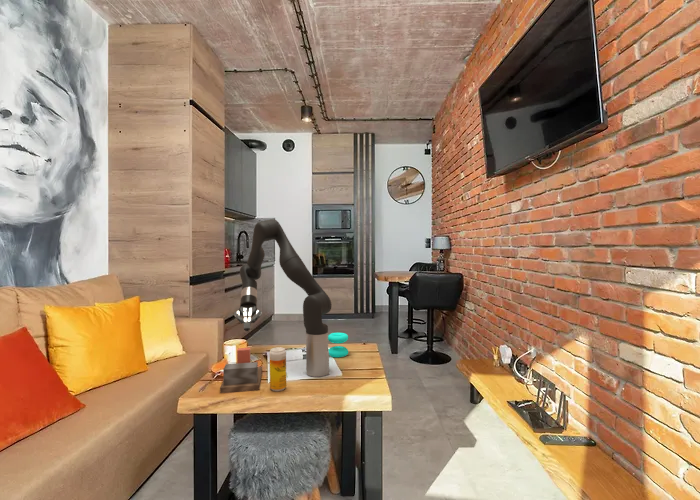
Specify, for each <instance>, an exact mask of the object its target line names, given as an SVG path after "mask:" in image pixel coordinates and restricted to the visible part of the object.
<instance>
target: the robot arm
mask: <svg viewBox="0 0 700 500" xmlns="http://www.w3.org/2000/svg"><path fill="white" fill-rule="evenodd" d="M253 228H254V229H253V234H252V242H251V249H250V252H249V255H248V258H247V261H246V264H242V265H241V267H240V268H239V276H240V279H241V284H242V285H241V293H240V305H239V308H238V310H237V311H234V312H233V315H234V318H235V319H237V321H238V322H239V323H240V324H243V331H245V332H249V331H250V330H251V324H255V323H256V321H258V319H259V318H261V316H262V315H263V313H262V311H261V310H259V309H258V291H257V290H258V282H257V281H258V280H260V278H261V275H262V264H263V261H264V260H265V250H264V248H263V246H262V245H263V244H264V242H268V241H271V240H272V241H273V240H274V241H275V242H276V243H277V245H278V247H279V259H278V260H279V261H278V262H279V265H280V268H281V270H282V271H283V273H284V274H285V275H286V277H287V278H288V279H289V280H290V281H291V282H293V283H294V284H296V286H298V287H299V288H301V289H302V290H303V291H304V292H305V293H306V295H307V296H306V297H305V298H304V300H303V302H302V303H303V304H302V313H303V326H304V328H305V354H306V355H305V358H306V359H305V360H306V361H305V362H306V368H305V370H306V372H305V373H306V375H307V376H309V377H315V378H316V377H318V378H320V377H324V376H326V375H330V355H329V351H328V350H329V340H328V335H329V327H328V325H327V323H324V322H323V320H322V318H323V317H322V316H324V315H327V314H328V313H330V312H331V310H332V301H331V298H330V297H329V295H328V294H327V293H326V291H325V290H324V289H323V288H322V287H321V286H320V284H319V283H318V282H317V280H316V279H315V278H314V276H313V275H312V273H311V272H310V270H309V269H308V267H307V266H306V264H305V263H304V261H303V259H301V257H300V255H299V254H298V253H297V251H296V250H295V248H294V247H293V245H292V243H291V242H290V240H289V238H288V237H287V234H286V232H285V231H284V229H283V227H282V225H281V224H280V222H279V221H278V220H276V219H275V218H272V219H267V220H261V221H257V223H255V225H254V227H253ZM242 317H243V318H242Z"/></svg>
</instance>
